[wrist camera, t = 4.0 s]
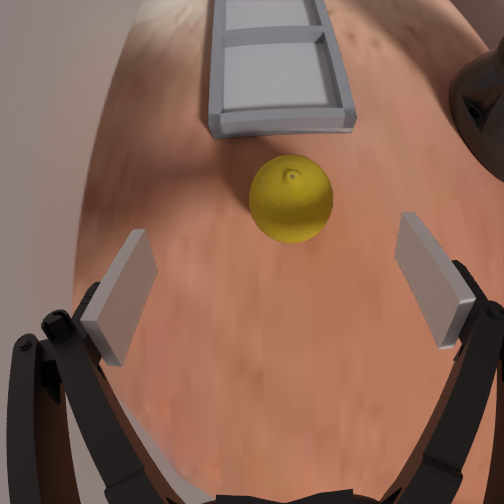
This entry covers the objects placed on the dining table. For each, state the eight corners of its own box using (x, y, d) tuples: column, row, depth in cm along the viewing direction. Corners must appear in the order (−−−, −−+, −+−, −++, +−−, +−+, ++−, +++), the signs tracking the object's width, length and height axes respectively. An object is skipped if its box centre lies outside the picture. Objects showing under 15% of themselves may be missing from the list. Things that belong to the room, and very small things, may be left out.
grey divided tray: (219, -4, 31) (216, -18, 29) (314, -9, 30) (314, -23, 28) (213, 139, 27) (208, 124, 24) (351, 133, 26) (357, 117, 24)
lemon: (249, 189, 26) (237, 140, 18) (318, 180, 25) (331, 129, 18) (258, 257, 25) (248, 231, 17) (330, 247, 24) (352, 218, 17)
